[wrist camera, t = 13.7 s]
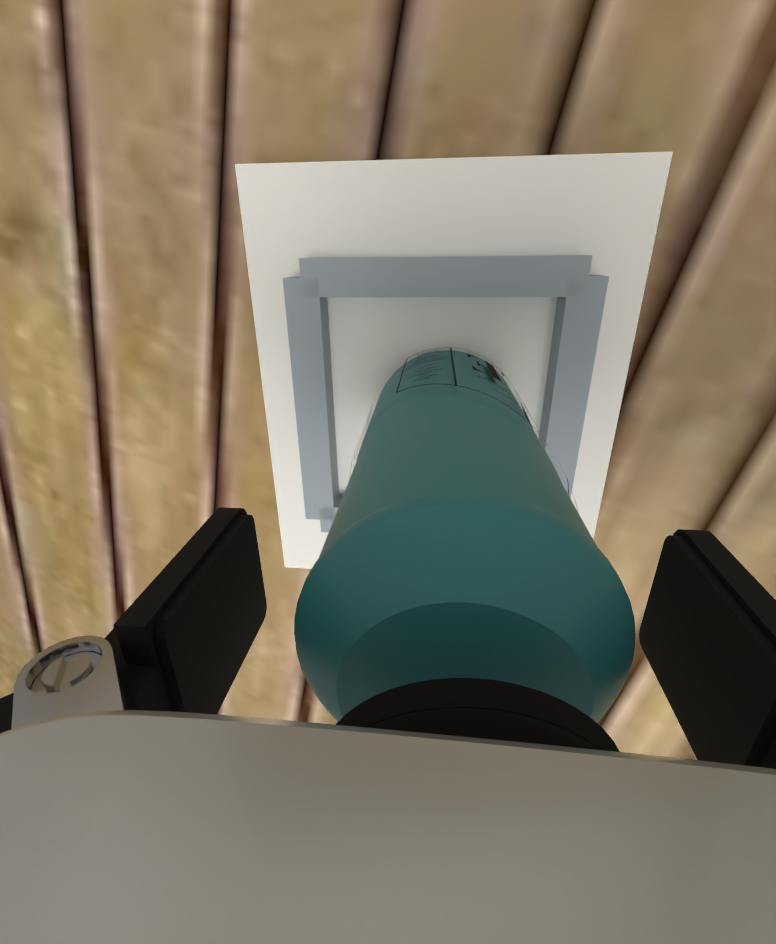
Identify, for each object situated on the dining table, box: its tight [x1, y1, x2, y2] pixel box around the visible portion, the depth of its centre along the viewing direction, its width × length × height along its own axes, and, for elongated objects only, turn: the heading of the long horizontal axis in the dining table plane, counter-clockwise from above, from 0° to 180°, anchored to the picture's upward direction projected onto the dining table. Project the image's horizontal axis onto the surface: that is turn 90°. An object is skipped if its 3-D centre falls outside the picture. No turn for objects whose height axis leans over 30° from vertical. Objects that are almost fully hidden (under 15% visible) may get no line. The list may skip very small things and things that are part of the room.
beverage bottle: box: [294, 347, 635, 752], centre depth 14 cm, size 6×7×20 cm
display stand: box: [235, 152, 673, 569], centre depth 23 cm, size 17×20×4 cm
